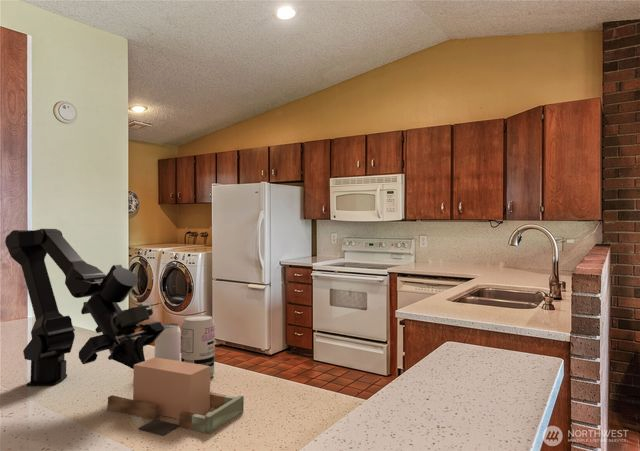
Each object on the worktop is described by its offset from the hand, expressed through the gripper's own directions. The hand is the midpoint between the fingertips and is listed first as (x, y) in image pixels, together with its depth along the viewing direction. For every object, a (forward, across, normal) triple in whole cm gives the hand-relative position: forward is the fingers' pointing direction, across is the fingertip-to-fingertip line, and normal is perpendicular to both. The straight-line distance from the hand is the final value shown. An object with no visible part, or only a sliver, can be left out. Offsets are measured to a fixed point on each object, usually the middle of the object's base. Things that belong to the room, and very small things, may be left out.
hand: (144, 371), depth 89 cm
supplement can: (+4, +18, +5) cm, 19 cm away
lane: (+11, 0, -2) cm, 11 cm away
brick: (+10, 0, -1) cm, 10 cm away
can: (-3, +19, +13) cm, 23 cm away
